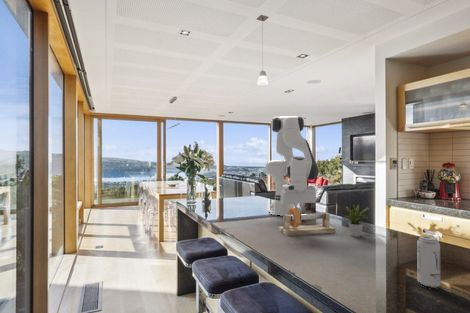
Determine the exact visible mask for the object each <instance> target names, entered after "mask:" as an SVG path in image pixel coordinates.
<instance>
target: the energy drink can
mask: <svg viewBox="0 0 470 313" xmlns="http://www.w3.org/2000/svg"><path fill="white" fill-rule="evenodd" d="M438 240H439V239H438V238H437V237H435V236H432V235H419V238H418V239H417V240H416V241H417V242H416V247H417V248H416V252H417V253H416V258H417V259H416V260H417V261H416V262H417V263H416V267H417V272H416V274H417V275H416V276H417V282H418V283H419V282H420V283H421V284H423V285H425V286H431V287H438V288H439V287H440V286H441V243H440V242H439V241H438Z"/></svg>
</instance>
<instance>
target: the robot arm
mask: <svg viewBox="0 0 470 313" xmlns="http://www.w3.org/2000/svg"><path fill="white" fill-rule="evenodd" d="M304 127H305V121H304V119H303V117H301V116H293V115H287V116H283V115H282V116H274V117H272V119H271V121H270V128H271V130H272V132H273V133H274V132H275V133H277V134H276V147H275V150H276V153H277V154H278V155H280V156H282V157H283V158H284V159H281V160H280V159H279V160H278V159H273V160H269V161H268V160H267V162H266V164H265V166H264V167H265V172H266V173H267V175H268V176H270V177H271V178H272V180H273V181H274V182H273V183H274V185H275V186H274V187H275V194H274V200H273V201H272V203H271V204H270V205H269V208H270V209H268V210H267V212H268V211H269V212H270V213H269V212H268V213H269V214H270V215H271V214H272V215H271V216H277V215H280V216H279V217H283V214H287V215H288V211H289V209H290V208H297V209H298V211H299V213H300V212H301V211H302V207H303V206H304V203H315V202H316V203H317V194H316V192H317V188H316V187H315V186H313V185H308V184H307V183H308V181H309V180H310V181H314V180H315V179H316V178H317V177H318V176H319V167H318V165H317V162H316V161H315V158H314V154H313V153H312V149H311V147H310V144H309V142H308V140H307V139H305V138H304V136H303V135H302V133H301V132H302V131H303V130H304ZM293 149H295V150H298V151H299V152H301V153H302V154H303V156H304V157H303V156H295V155H294V153H293ZM283 176H286V177H287V178H288V179H290V182H289V181H288V180H286V179H284V177H283ZM298 206H299V207H298Z"/></svg>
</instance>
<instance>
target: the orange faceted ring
mask: <svg viewBox="0 0 470 313" xmlns="http://www.w3.org/2000/svg"><path fill="white" fill-rule="evenodd" d="M290 214H291V215H293V216H294V220H292V221H290V226H292V227H293V228H296V227H298V226H299V225H301V223H300V212H299V211H298V209H297V208H295V207H294V208H290V209H289V211H288V215H290Z"/></svg>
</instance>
